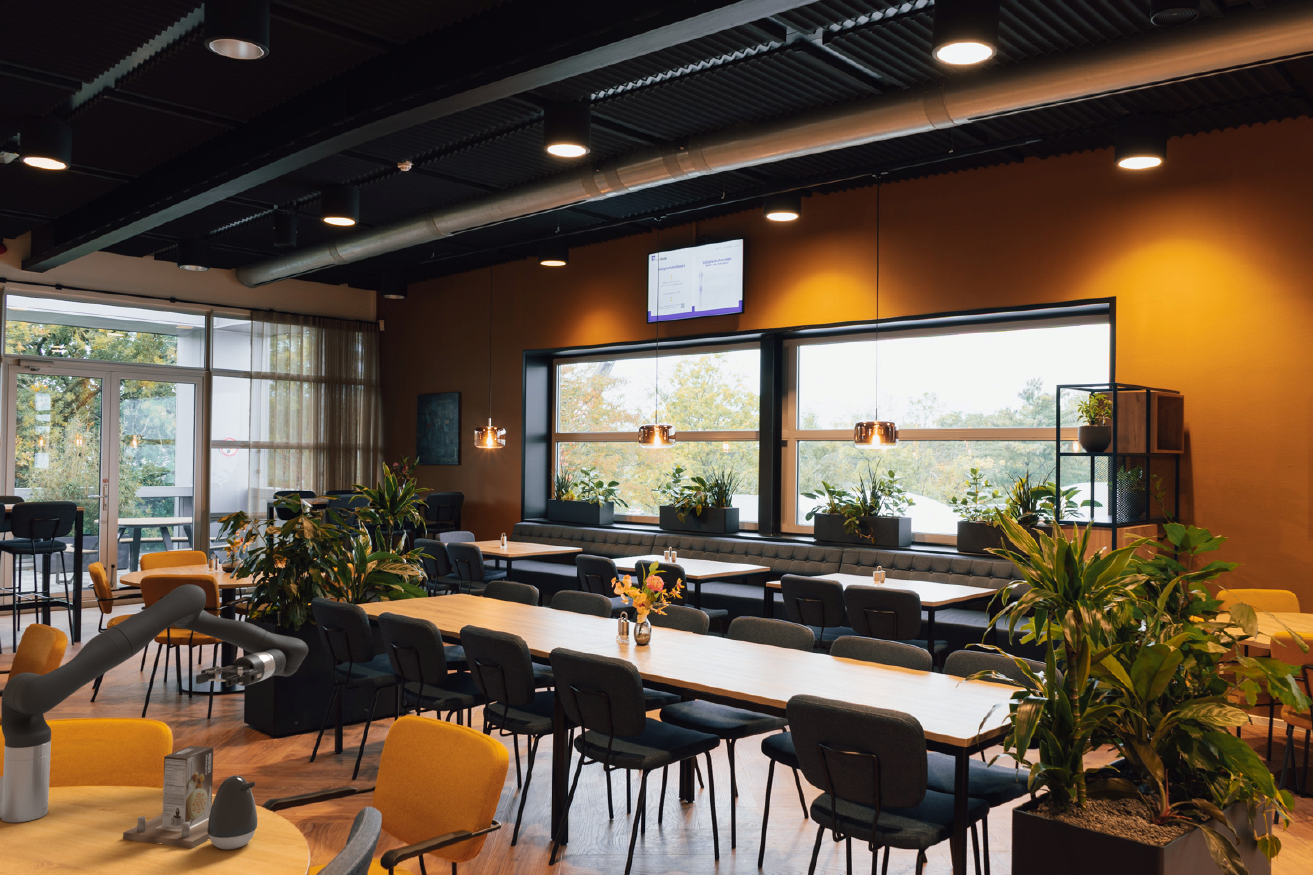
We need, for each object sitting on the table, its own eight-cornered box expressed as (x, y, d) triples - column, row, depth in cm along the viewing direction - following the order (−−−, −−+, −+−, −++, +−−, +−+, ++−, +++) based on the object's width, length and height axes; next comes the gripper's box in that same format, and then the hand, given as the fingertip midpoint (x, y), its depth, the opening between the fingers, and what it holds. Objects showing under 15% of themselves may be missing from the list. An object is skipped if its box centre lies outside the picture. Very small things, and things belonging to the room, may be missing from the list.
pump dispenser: (236, 856, 207) (239, 785, 208) (195, 850, 210) (198, 780, 211) (267, 839, 217) (269, 771, 218) (228, 833, 220) (230, 766, 221)
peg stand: (123, 838, 216) (123, 818, 216) (180, 811, 233) (180, 792, 233) (192, 848, 212) (193, 827, 212) (245, 819, 229) (246, 800, 229)
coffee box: (188, 813, 228) (191, 744, 228) (212, 815, 226) (215, 746, 227) (160, 827, 219) (163, 755, 219) (185, 830, 217) (188, 758, 218)
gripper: (230, 652, 258) (188, 663, 242) (277, 655, 255) (237, 667, 239) (229, 680, 258) (186, 694, 242) (276, 684, 255) (236, 698, 239)
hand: (212, 681), depth 241 cm, fingers open, 8 cm apart
